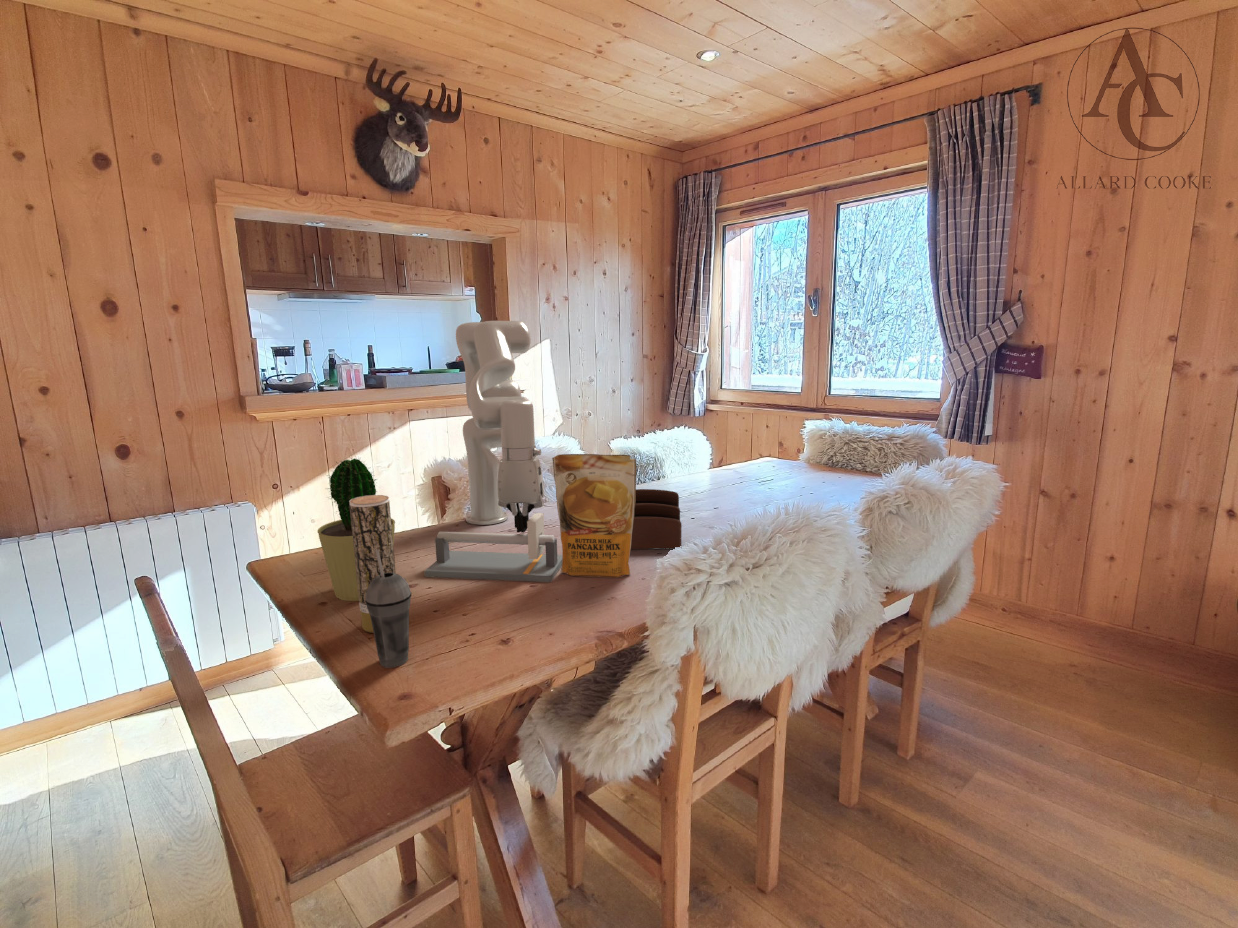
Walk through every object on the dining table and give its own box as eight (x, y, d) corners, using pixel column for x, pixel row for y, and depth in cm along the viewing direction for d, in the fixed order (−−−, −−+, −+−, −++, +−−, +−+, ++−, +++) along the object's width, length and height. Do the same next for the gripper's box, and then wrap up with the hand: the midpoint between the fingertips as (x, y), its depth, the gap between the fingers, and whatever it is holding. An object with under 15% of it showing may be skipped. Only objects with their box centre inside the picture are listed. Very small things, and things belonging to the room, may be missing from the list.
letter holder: (606, 538, 168) (605, 488, 165) (678, 537, 168) (678, 488, 165) (605, 550, 158) (604, 497, 156) (681, 549, 158) (682, 497, 155)
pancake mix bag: (559, 566, 147) (555, 451, 142) (637, 568, 145) (637, 452, 139) (552, 576, 140) (548, 457, 135) (634, 579, 138) (634, 458, 133)
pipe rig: (449, 556, 155) (447, 523, 153) (565, 560, 151) (563, 526, 149) (424, 576, 141) (422, 540, 139) (551, 582, 137) (549, 544, 135)
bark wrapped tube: (387, 635, 112) (375, 505, 108) (354, 632, 114) (341, 503, 109) (406, 619, 119) (396, 495, 114) (375, 617, 120) (363, 494, 115)
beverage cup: (424, 660, 103) (415, 548, 100) (382, 676, 98) (371, 559, 95) (404, 645, 109) (395, 538, 105) (363, 661, 103) (352, 548, 100)
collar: (536, 548, 147) (535, 513, 145) (544, 549, 147) (543, 513, 145) (528, 558, 140) (527, 521, 139) (537, 559, 140) (535, 521, 138)
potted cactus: (391, 572, 144) (380, 447, 138) (408, 594, 131) (396, 457, 126) (320, 586, 136) (305, 454, 130) (330, 611, 123) (314, 466, 117)
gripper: (554, 451, 142) (556, 527, 146) (492, 450, 144) (496, 525, 148) (546, 457, 135) (549, 536, 138) (481, 456, 137) (486, 534, 140)
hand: (522, 530), depth 143 cm, fingers closed
